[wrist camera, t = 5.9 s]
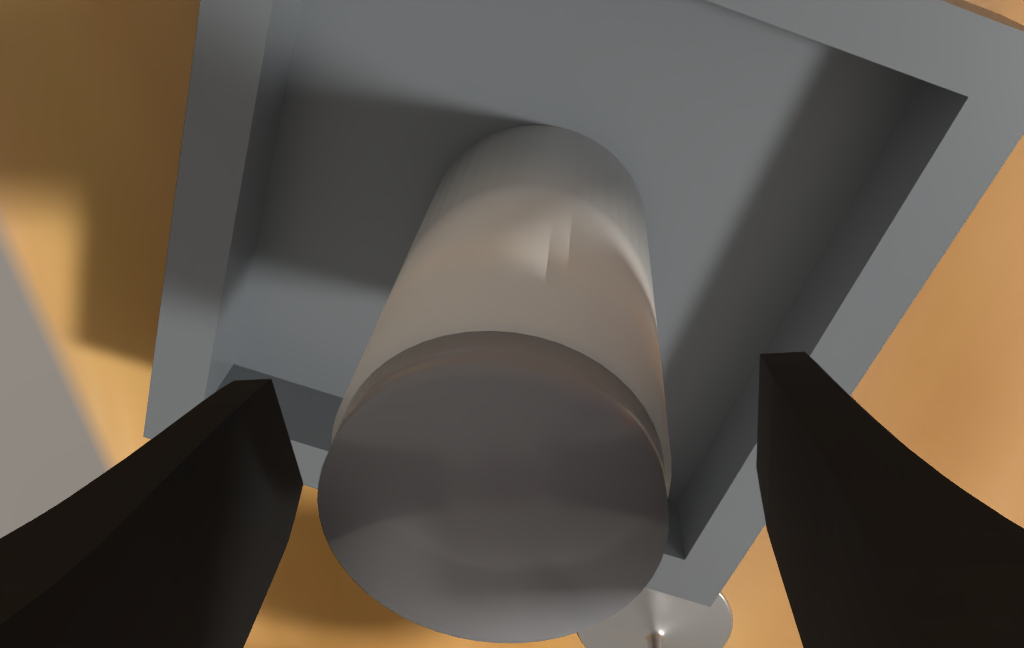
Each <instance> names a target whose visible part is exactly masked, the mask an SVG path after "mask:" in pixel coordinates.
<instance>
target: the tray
mask: <svg viewBox="0 0 1024 648" xmlns="http://www.w3.org/2000/svg"><path fill="white" fill-rule="evenodd" d="M526 125H547V126H554V127H560V128H565V129H568V130H571V131H574V132H577V133H580V134H582V135H584V136H586V137H588V138H590V139H592V140H594V141H595V142H597V143H599V144H600V145H602V146H603V147H605V148H606V149H607V150H608V151H609V152H611V153H612V154H613V155H614V156H615V157H616V158H617V159H618V160H619V161H620V162H621V163H622V164H623V166H624V167H625V168H626V170H627V171H628V172H629V174H630V175H631V177H632V178H633V180H634V182H635V184H636V186H637V188H638V190H639V193H640V196H641V199H642V202H643V207H644V212H645V219H646V228H647V238H648V247H649V256H650V265H651V275H652V284H653V293H654V302H655V312H656V321H657V330H658V340H659V349H660V358H661V367H662V377H663V386H664V395H665V405H666V414H667V423H668V432H669V442H670V451H671V471H672V477H671V483H670V490H669V495H668V498H667V500H668V511H669V532H668V538H667V544H666V548H665V551H664V554H663V557H662V560H661V563H660V565H659V566H658V568H657V570H656V572H655V574H654V576H653V577H652V579H651V580H650V581H649V583H648V584H647V585H646V587H645V588H649V589H652V590H655V591H659V592H662V593H665V594H669V595H672V596H675V597H679V598H682V599H685V600H689V601H692V602H695V603H699V604H702V605H705V606H709V607H711V606H712V604H713V603H714V601H715V599H716V598H717V596H718V595H719V593H720V592H721V590H722V589H723V587H724V586H725V584H726V583H727V581H728V580H729V578H730V577H731V575H732V574H733V572H734V571H735V569H736V568H737V566H738V565H739V563H740V562H741V560H742V559H743V557H744V556H745V554H746V553H747V551H748V550H749V548H750V547H751V545H752V544H753V542H754V541H755V539H756V538H757V536H758V535H759V533H760V531H761V530H762V528H763V527H764V525H765V524H766V521H765V516H764V510H763V505H762V499H761V493H760V487H759V481H758V475H757V469H756V460H757V428H758V396H759V365H760V354H766V353H786V352H806V353H807V354H808V355H809V356H810V357H811V358H812V359H813V360H814V361H815V362H817V363H818V364H819V365H820V366H821V367H822V368H823V369H824V370H825V371H826V372H827V373H828V374H829V375H830V376H831V377H832V378H833V379H834V380H835V381H836V382H837V383H838V384H839V385H840V386H841V387H842V388H843V389H844V390H845V391H846V392H847V393H848V394H849V395H851V394H852V392H853V391H854V389H855V388H856V386H857V385H858V383H859V382H860V380H861V379H862V377H863V376H864V374H865V373H866V371H867V370H868V368H869V367H870V365H871V364H872V362H873V361H874V359H875V358H876V356H877V355H878V353H879V352H880V350H881V349H882V347H883V346H884V344H885V343H886V341H887V340H888V338H889V336H890V335H891V333H892V332H893V330H894V329H895V327H896V326H897V324H898V323H899V321H900V320H901V318H902V317H903V315H904V314H905V312H906V311H907V309H908V308H909V306H910V305H911V303H912V302H913V300H914V299H915V297H916V296H917V294H918V293H919V291H920V290H921V288H922V287H923V285H924V284H925V282H926V281H927V279H928V278H929V276H930V275H931V273H932V271H933V270H934V268H935V267H936V265H937V264H938V262H939V261H940V259H941V258H942V256H943V255H944V253H945V252H946V250H947V249H948V247H949V246H950V244H951V243H952V241H953V240H954V238H955V237H956V235H957V234H958V232H959V231H960V229H961V228H962V226H963V225H964V223H965V222H966V220H967V219H968V217H969V216H970V214H971V213H972V211H973V210H974V208H975V206H976V205H977V203H978V202H979V200H980V199H981V197H982V196H983V194H984V193H985V191H986V190H987V188H988V187H989V185H990V184H991V182H992V181H993V179H994V178H995V176H996V175H997V173H998V172H999V170H1000V169H1001V167H1002V166H1003V164H1004V163H1005V161H1006V160H1007V158H1008V157H1009V155H1010V154H1011V152H1012V151H1013V149H1014V148H1015V146H1016V145H1017V143H1018V141H1019V140H1020V138H1021V137H1022V135H1023V134H1024V26H1023V25H1021V24H1019V23H1017V22H1015V21H1013V20H1011V19H1009V18H1007V17H1005V16H1003V15H1000V14H997V13H995V12H992V11H989V10H987V9H984V8H981V7H979V6H976V5H974V4H971V3H968V2H966V1H963V0H200V8H199V15H198V23H197V31H196V38H195V46H194V54H193V61H192V69H191V77H190V84H189V92H188V99H187V107H186V115H185V122H184V130H183V138H182V145H181V153H180V161H179V168H178V176H177V184H176V191H175V199H174V206H173V214H172V222H171V229H170V237H169V245H168V252H167V260H166V268H165V275H164V283H163V291H162V298H161V306H160V314H159V321H158V329H157V336H156V344H155V352H154V359H153V367H152V375H151V382H150V390H149V398H148V405H147V413H146V421H145V428H144V436H143V437H146V438H149V439H152V438H154V437H155V436H156V435H158V434H159V433H160V432H162V431H163V430H165V429H166V428H167V427H169V426H170V425H171V424H173V423H174V422H175V421H177V420H178V419H179V418H181V417H182V416H183V415H185V414H186V413H187V412H189V411H190V410H191V409H193V408H194V407H195V406H197V405H198V404H199V403H201V402H202V401H204V400H205V399H206V398H208V397H209V396H211V395H212V394H213V393H215V392H216V391H218V390H219V389H221V388H222V387H224V386H226V385H227V384H229V383H231V382H232V381H235V380H255V379H272V382H273V385H274V388H275V392H276V395H277V398H278V402H279V405H280V408H281V411H282V415H283V418H284V421H285V424H286V428H287V431H288V434H289V438H290V441H291V444H292V447H293V451H294V454H295V457H296V461H297V464H298V467H299V470H300V474H301V477H302V480H303V485H306V486H309V487H312V488H316V489H318V482H319V478H320V474H321V469H322V466H323V463H324V461H325V459H326V456H327V454H328V452H329V449H330V447H331V442H332V430H333V426H334V422H335V418H336V414H337V412H338V409H339V407H340V405H341V402H342V400H343V398H344V395H345V393H346V391H347V389H348V386H349V384H350V382H351V380H352V378H353V375H354V373H355V371H356V369H357V366H358V364H359V362H360V360H361V357H362V355H363V353H364V351H365V349H366V346H367V344H368V342H369V340H370V337H371V335H372V333H373V331H374V329H375V326H376V324H377V322H378V320H379V317H380V315H381V313H382V311H383V308H384V306H385V304H386V302H387V300H388V297H389V295H390V293H391V291H392V288H393V286H394V284H395V282H396V279H397V277H398V275H399V273H400V271H401V268H402V266H403V264H404V262H405V259H406V257H407V255H408V253H409V250H410V248H411V246H412V244H413V242H414V239H415V237H416V235H417V233H418V230H419V228H420V226H421V224H422V222H423V219H424V217H425V215H426V213H427V210H428V208H429V206H430V204H431V201H432V199H433V197H434V195H435V193H436V190H437V188H438V186H439V184H440V181H441V179H442V178H443V176H444V174H445V173H446V171H447V169H448V168H449V167H450V165H451V164H452V163H453V162H454V161H455V159H456V158H457V157H458V156H459V155H460V154H461V153H463V152H464V151H465V150H466V149H467V148H468V147H470V146H471V145H473V144H474V143H475V142H477V141H478V140H480V139H482V138H484V137H486V136H488V135H490V134H492V133H495V132H498V131H501V130H504V129H508V128H512V127H517V126H526Z"/></svg>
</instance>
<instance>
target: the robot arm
mask: <svg viewBox="0 0 1024 648" xmlns="http://www.w3.org/2000/svg"><path fill="white" fill-rule="evenodd" d="M756 469H757V475H758V481H759V487H760V493H761V499H762V505H763V510H764V516H765V521H766V527H767V531H768V534H769V538H770V541H771V544H772V548H773V551H774V554H775V557H776V561H777V564H778V567H779V571H780V574H781V577H782V580H783V583H784V587H785V590H786V593H787V596H788V599H789V603H790V606H791V609H792V612H793V615H794V619H795V622H796V625H797V628H798V631H799V635H800V638H801V641H802V644H803V647H804V648H1024V529H1023V528H1022V527H1020V526H1018V525H1017V524H1015V523H1013V522H1012V521H1010V520H1009V519H1007V518H1005V517H1004V516H1002V515H1001V514H999V513H998V512H996V511H995V510H993V509H992V508H990V507H989V506H987V505H985V504H984V503H982V502H981V501H979V500H978V499H976V498H975V497H973V496H972V495H970V494H969V493H967V492H966V491H964V490H963V489H961V488H960V487H959V486H957V485H956V484H954V483H953V482H952V481H950V480H949V479H947V478H946V477H945V476H943V475H942V474H941V473H939V472H938V471H937V470H935V469H934V468H933V467H932V466H930V465H929V464H928V463H926V462H925V461H924V460H923V459H921V458H920V457H919V456H917V455H916V454H915V453H914V452H912V451H911V450H910V449H909V448H907V447H906V446H905V445H904V444H903V443H901V442H900V441H899V440H898V439H897V438H896V437H895V436H893V435H892V434H891V433H890V432H889V431H888V430H887V429H886V428H884V427H883V426H882V425H881V424H880V423H879V422H878V421H877V420H875V419H874V418H873V417H872V416H871V415H870V414H869V413H868V412H867V411H866V410H865V409H863V408H862V407H861V406H860V405H859V404H858V403H857V402H856V401H855V400H854V399H853V398H852V397H851V396H850V395H849V394H848V393H847V392H846V391H845V390H844V389H843V388H842V387H841V386H840V385H839V384H838V383H837V382H836V381H835V380H834V379H833V378H832V377H831V376H830V375H829V374H828V373H827V372H826V371H825V370H824V369H823V368H822V367H821V366H820V365H819V364H818V363H817V362H815V361H814V360H813V359H812V358H811V357H810V356H809V355H808V354H807V353H806V352H786V353H766V354H760V365H759V396H758V428H757V460H756ZM302 487H303V480H302V477H301V474H300V470H299V467H298V464H297V461H296V457H295V454H294V451H293V447H292V444H291V441H290V438H289V434H288V431H287V428H286V424H285V421H284V418H283V415H282V411H281V408H280V405H279V402H278V398H277V395H276V392H275V388H274V385H273V382H272V379H255V380H235V381H232V382H231V383H229V384H227V385H226V386H224V387H222V388H221V389H219V390H218V391H216V392H215V393H213V394H212V395H211V396H209V397H208V398H206V399H205V400H204V401H202V402H201V403H199V404H198V405H197V406H195V407H194V408H193V409H191V410H190V411H189V412H187V413H186V414H185V415H183V416H182V417H181V418H179V419H178V420H177V421H175V422H174V423H173V424H171V425H170V426H169V427H167V428H166V429H165V430H163V431H162V432H160V433H159V434H158V435H156V436H155V437H154V438H152V439H151V440H150V441H148V442H147V443H146V444H144V445H143V446H142V447H140V448H139V449H138V450H136V451H135V452H134V453H132V454H131V455H129V456H128V457H127V458H125V459H124V460H122V461H121V462H119V463H118V464H117V465H115V466H114V467H112V468H111V469H109V470H108V471H106V472H105V473H104V474H102V475H101V476H99V477H98V478H96V479H95V480H93V481H92V482H90V483H89V484H88V485H86V486H85V487H83V488H82V489H80V490H79V491H77V492H76V493H74V494H73V495H72V496H70V497H69V498H67V499H65V500H64V501H62V502H61V503H60V504H58V505H56V506H55V507H53V508H51V509H50V510H48V511H46V512H45V513H43V514H42V515H40V516H38V517H37V518H35V519H33V520H32V521H30V522H28V523H26V524H25V525H23V526H22V527H20V528H18V529H16V530H14V531H13V532H11V533H9V534H8V535H6V536H4V537H2V538H1V539H0V648H243V647H244V645H245V643H246V640H247V638H248V636H249V633H250V631H251V629H252V626H253V624H254V622H255V619H256V617H257V615H258V612H259V610H260V608H261V605H262V603H263V601H264V598H265V596H266V594H267V591H268V589H269V587H270V584H271V582H272V580H273V577H274V575H275V572H276V570H277V568H278V565H279V563H280V560H281V558H282V556H283V553H284V551H285V548H286V546H287V543H288V540H289V537H290V533H291V530H292V526H293V523H294V519H295V515H296V511H297V507H298V503H299V499H300V495H301V491H302Z"/></svg>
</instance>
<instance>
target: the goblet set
mask: <svg viewBox="0 0 1024 648" xmlns="http://www.w3.org/2000/svg"><path fill="white" fill-rule="evenodd" d="M732 626H733V615H732V611H731V608H730V605H729V603H728V601H727V599H726V598H725V596H724V595H723V594H722V593H721V592H720V593H719V595H718V596H717V598H716V599H715V601H714V603H713V604H712V606H711V607H709V606H705V605H702V604H699V603H695V602H692V601H689V600H685V599H682V598H679V597H675V596H672V595H669V594H665V593H662V592H659V591H655V590H652V589H649V588H644V589H643V591H642V592H641V593H640V594H639V595H638V596H637V597H636V598H635V599H634V600H632V601H631V602H630V603H629V604H628V605H627V606H626V607H624V608H623V609H621V610H620V611H619V612H617V613H616V614H615V615H613V616H611V617H610V618H608V619H606V620H604V621H602V622H601V623H599V624H597V625H594V626H592V627H590V628H587V629H585V630H582V631H580V632H577V633H578V636H579V638H580V640H581V641H582V643H583V644H584V646H585V647H586V648H723V647H724V646H725V644H726V643H727V641H728V639H729V637H730V634H731V631H732Z"/></svg>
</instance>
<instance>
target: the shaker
mask: <svg viewBox="0 0 1024 648" xmlns="http://www.w3.org/2000/svg"><path fill="white" fill-rule="evenodd" d="M671 477H672V471H671V451H670V442H669V432H668V423H667V414H666V405H665V395H664V386H663V377H662V367H661V358H660V349H659V340H658V330H657V321H656V312H655V302H654V293H653V284H652V275H651V265H650V256H649V247H648V238H647V228H646V219H645V212H644V207H643V202H642V199H641V196H640V193H639V190H638V188H637V186H636V184H635V182H634V180H633V178H632V177H631V175H630V174H629V172H628V171H627V170H626V168H625V167H624V166H623V164H622V163H621V162H620V161H619V160H618V159H617V158H616V157H615V156H614V155H613V154H612V153H611V152H609V151H608V150H607V149H606V148H605V147H603V146H602V145H600V144H599V143H597V142H595V141H594V140H592V139H590V138H588V137H586V136H584V135H582V134H580V133H577V132H574V131H571V130H568V129H565V128H560V127H554V126H547V125H526V126H517V127H512V128H508V129H504V130H501V131H498V132H495V133H492V134H490V135H488V136H486V137H484V138H482V139H480V140H478V141H477V142H475V143H474V144H473V145H471V146H470V147H468V148H467V149H466V150H465V151H464V152H463V153H461V154H460V155H459V156H458V157H457V158H456V159H455V161H454V162H453V163H452V164H451V165H450V167H449V168H448V169H447V171H446V173H445V174H444V176H443V178H442V179H441V181H440V184H439V186H438V188H437V190H436V193H435V195H434V197H433V199H432V201H431V204H430V206H429V208H428V210H427V213H426V215H425V217H424V219H423V222H422V224H421V226H420V228H419V230H418V233H417V235H416V237H415V239H414V242H413V244H412V246H411V248H410V250H409V253H408V255H407V257H406V259H405V262H404V264H403V266H402V268H401V271H400V273H399V275H398V277H397V279H396V282H395V284H394V286H393V288H392V291H391V293H390V295H389V297H388V300H387V302H386V304H385V306H384V308H383V311H382V313H381V315H380V317H379V320H378V322H377V324H376V326H375V329H374V331H373V333H372V335H371V337H370V340H369V342H368V344H367V346H366V349H365V351H364V353H363V355H362V357H361V360H360V362H359V364H358V366H357V369H356V371H355V373H354V375H353V378H352V380H351V382H350V384H349V386H348V389H347V391H346V393H345V395H344V398H343V400H342V402H341V405H340V407H339V409H338V412H337V414H336V418H335V422H334V426H333V430H332V442H331V447H330V449H329V452H328V454H327V456H326V459H325V461H324V463H323V466H322V469H321V474H320V478H319V482H318V499H317V501H318V509H319V518H320V521H321V525H322V528H323V532H324V535H325V537H326V539H327V541H328V544H329V546H330V548H331V550H332V552H333V553H334V555H335V557H336V558H337V560H338V561H339V563H340V564H341V566H342V567H343V568H344V570H345V571H346V572H347V573H348V574H349V576H350V577H351V578H352V579H353V580H354V581H355V582H356V583H357V584H358V585H359V586H360V587H361V588H362V589H363V590H364V591H365V592H366V593H367V594H369V595H370V596H371V597H373V598H374V599H375V600H377V601H378V602H379V603H381V604H382V605H383V606H385V607H387V608H388V609H390V610H391V611H393V612H395V613H396V614H398V615H400V616H402V617H404V618H406V619H408V620H410V621H412V622H414V623H416V624H418V625H421V626H423V627H426V628H429V629H431V630H434V631H437V632H440V633H444V634H447V635H451V636H455V637H458V638H464V639H469V640H475V641H483V642H494V643H526V642H537V641H544V640H549V639H555V638H560V637H563V636H567V635H570V634H574V633H577V632H580V631H582V630H585V629H587V628H590V627H592V626H594V625H597V624H599V623H601V622H602V621H604V620H606V619H608V618H610V617H611V616H613V615H615V614H616V613H617V612H619V611H620V610H621V609H623V608H624V607H626V606H627V605H628V604H629V603H630V602H631V601H632V600H634V599H635V598H636V597H637V596H638V595H639V594H640V593H641V592H642V591H643V589H644V588H645V587H646V585H647V584H648V583H649V581H650V580H651V579H652V577H653V576H654V574H655V572H656V570H657V568H658V566H659V565H660V563H661V560H662V557H663V554H664V551H665V548H666V544H667V538H668V532H669V511H668V500H667V498H668V495H669V490H670V483H671Z"/></svg>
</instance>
